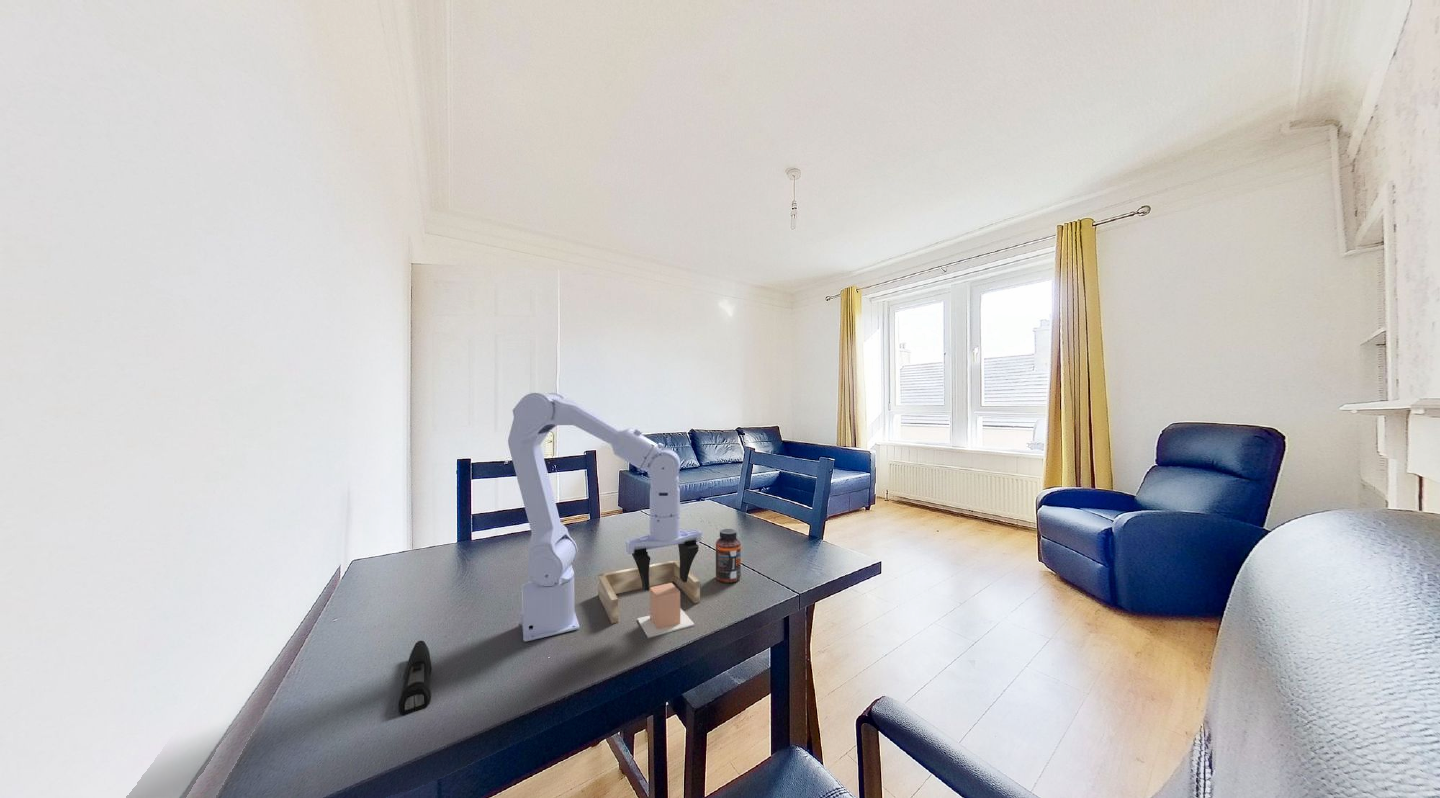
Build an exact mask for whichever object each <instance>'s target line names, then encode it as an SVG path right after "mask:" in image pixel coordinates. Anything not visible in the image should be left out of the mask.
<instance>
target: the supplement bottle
mask: <svg viewBox="0 0 1440 798" xmlns="http://www.w3.org/2000/svg"><path fill="white" fill-rule="evenodd" d="M741 549H742V548H741V541H740V539H738V538H737V530H735V529H732V528H724V529H720V530H719V538H718V539H716V541H715V578H716V580H717V581H718V582H721V583H725V584H726V583H727V584H728V583H731V584H732V583H736V582H738V581H739V580H740V579H741V577H742V576H741V575H742V574H741V573H742V571H741V569H742V567H741V566H742V565H741V564H742V563H741V557H742V556H741V555H742V554H741V553H742V552H741Z"/></svg>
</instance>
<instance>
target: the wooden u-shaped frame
mask: <svg viewBox="0 0 1440 798" xmlns="http://www.w3.org/2000/svg"><path fill="white" fill-rule="evenodd" d="M673 582H674V583H675V584H676V585H677V586H678V587H679V588H680V589H681V591H682V592H683V593H684V594H685V595H686V596H687V597H688V598H689V600H691V602H693V603H694V604H698V603H701V581H700V579H698V578H697V577H696V576H695V575H694V574H693V573H692V572H691V571H689V574H688V579H687V582H683V581H682V580H681V579H680V560H678V559H674V560H673V559H672V560H668V561H663V562H657V563H653V564H650V565H649V588H650V587H654V586H659V585H663V584H668V583H673ZM641 589H644V588H643V587H642V582H641V577H640V573H639V570H638V567H637V566H636V567H631V568H627V569H625V568H624V569H620V570H616V571H610V572H605V573H600V574H599V573H598V574H597V595H598V598H599V600H600V602H601V604H602V606H603V608H604V611H605V612H606V615H607V616H608V619H609V620H610V623H611V624H616V623H619V597H618V596H617V595H618V594H621V593H626V592H631V591H636V590H641ZM616 594H617V595H616Z"/></svg>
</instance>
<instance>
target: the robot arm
mask: <svg viewBox="0 0 1440 798" xmlns="http://www.w3.org/2000/svg"><path fill="white" fill-rule="evenodd" d="M512 415H513V420H512V423H511V426H510V431H509V435H508V438H507V445H508V450H509V453H510V456H511V461H512V463H513V464H512V465H513V467H514V468H513V469H514V471H515V475H516V480H517V483H518V488H519V491H520V494H521V499H522V501H523V506H524V510H525V513H526V516H527V517H526V518H527V521H528V525H529V529H530V532H531V534H530V535H531V536H530V538H529V543H528V547H527V551H528V555H529V556H528V557H529V559H528V560H529V561H528V566H527V573H528V576H529V578H530V580H529V581H527V582H524V583H521V614H520V621H519V622H520V626H521V627H522V636H523V637H522V639H523V642H529V641H534V640H538V639H542V638H546V637H550V636H551V637H552V636H554V635H559V634H563V633H564V634H565V633H567V632H571V631H575V630H578V629H580V624H579V620H578V618H577V614H576V611H575V571H574V569H573V563H574V562H575V560H576V558H577V556H578V552H579V551H578V546H577V543H576V541H575V540H574V539H573V538H572V537H571V535H570V534H569V529H568V527H566V526H565V524H563V523H562V522H561V518H560V516H559V515H560V514H559V511H558V506H557V504H556V500H555V496H554V492H553V488H552V485H551V481H550V476H549V473H548V469H547V466H546V462H545V458H544V454H543V450H542V446H541V445H542V443H543V442H544V440H545V438H546V437H547V436H548V434H549V433H550V431H552V430H553V429H555V428H556V427H557V426H574V427H576V428H578V429H580V430H582V431H584V432H586V433H588V434H589V435H592V436H594V437H596V438H598V439H599V440H601V441H603V442H605V443H607V444H609V445H610V446H611V448H612V452H613V454H614V455H615V456H616V457H618V458H620V459H622V460H624V461H625V462H627V463H629V464H630V465H632V466H634V467H636V468H637V469H640V470H641V471H643V472H644V471H646V472H647V476H648V477H649V479H650V489H649V534H647V535H642V536H639V537H636V538H633V539H628V540H627V539H626V540H625V551H626V552H627V554H628V555H632V557H633V560H634V562H635V564H636V567H638V570H639V573H640V577H641V582H642V587H643V588H642V589H643V590H644V591H650V587H649V565H651V564H650V563H651V557H650V555H649V552H648V550H652V549H653V550H654V549H659V548H665V547H669V546H670V547H671V546H676V545H677V547H678V554H679V562H680V579H681V580H682V581H683V582H687V579H688V574H689V571H690V570H691V567H692V563H693V561H694V559H695V558H696V556H697V553H698V552H699V549H700V548H699V544H697V543H701V542H702V532H701V530H699V529H690V530H681V514H680V513H681V499H680V498H681V490H680V487H679V486H680V478H679V477H680V476H679V474H680V469H681V458H680V456H679V455H678V454H677V452H675V451H674V450H673V449H672V448H669V447H664V446H665V445H664V444H663V443H662V442H659V443H656V442H654V441H653V440H651V439H650V438H648V437H646V436H645V435H644V434H643V431H642V430H641V429H639V428H635V430H634V429H632V428H626V429H623V430H620V429H619V428H617V427H616V426H614V425H613V424H611V423H610V422H608V421H607V420H605V419H603V418H602V417H600V416H599V415H598V414H597V415H596V413H594V412H593V411H591V410H589V409H587V408H585V406H582V405H581V404H579V403H577V402H576V401H574V400H573V399H569V398H565V397H563V395H561V394H559V393H555V392H550V393H540V392H530V393H528V394H526V395H524V396H523V397H522V398H520V400H519V401H518V403H516V405H515V407H514V408H513V409H512ZM642 434H643V435H642ZM690 572H691V571H690Z"/></svg>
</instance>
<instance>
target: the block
mask: <svg viewBox="0 0 1440 798" xmlns="http://www.w3.org/2000/svg"><path fill="white" fill-rule="evenodd" d="M680 608H681V591H680V590H679V588H677V587H676V586H675V584H673V582H669V583H664V584H660V585H655V586H650V587H649V615H650V619H651V620H652V622H653V623H654V625H655V626H656V628H657V629H661V628H665V627H669V626H672V625H676V624H680Z"/></svg>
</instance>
